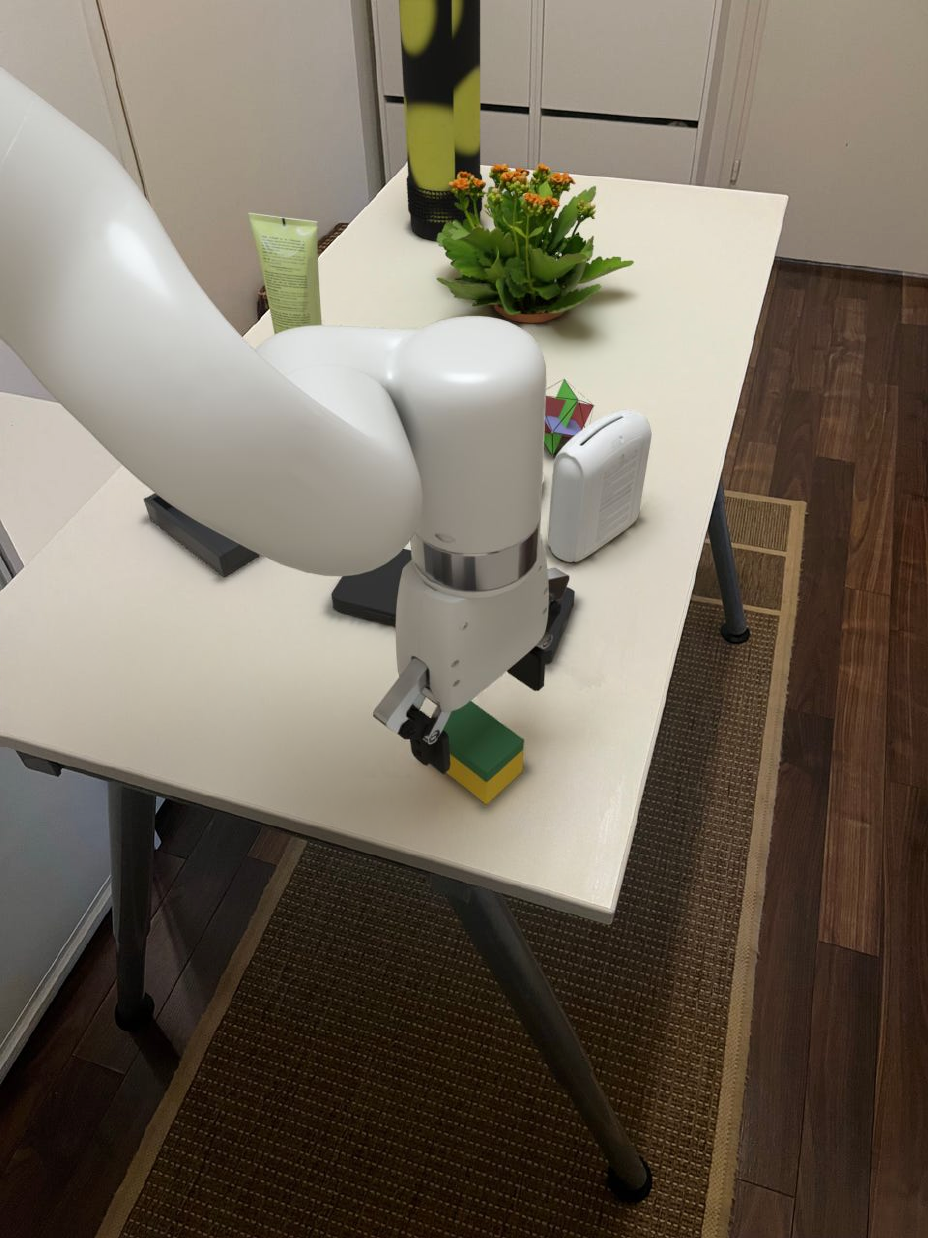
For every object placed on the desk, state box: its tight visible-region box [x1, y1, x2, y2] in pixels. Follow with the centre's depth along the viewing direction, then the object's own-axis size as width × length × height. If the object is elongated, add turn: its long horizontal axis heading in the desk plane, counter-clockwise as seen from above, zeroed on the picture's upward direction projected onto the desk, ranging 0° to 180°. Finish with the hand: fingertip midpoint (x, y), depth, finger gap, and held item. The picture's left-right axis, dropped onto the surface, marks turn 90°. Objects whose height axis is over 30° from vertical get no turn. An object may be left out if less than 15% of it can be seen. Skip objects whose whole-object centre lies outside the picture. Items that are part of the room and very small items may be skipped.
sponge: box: [443, 700, 525, 805], centre depth 68 cm, size 6×4×4 cm, turn 46°
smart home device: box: [330, 548, 576, 665], centre depth 81 cm, size 8×2×20 cm
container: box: [398, 0, 483, 241], centre depth 126 cm, size 11×11×30 cm
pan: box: [143, 492, 261, 578], centre depth 90 cm, size 15×12×2 cm
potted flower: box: [436, 163, 635, 324], centre depth 113 cm, size 25×24×18 cm
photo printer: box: [547, 409, 653, 563], centre depth 83 cm, size 10×4×12 cm, turn 134°
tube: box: [247, 212, 323, 335], centre depth 100 cm, size 6×5×20 cm
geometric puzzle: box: [544, 377, 595, 457], centre depth 96 cm, size 7×7×8 cm
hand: (479, 718), depth 66 cm, fingers open, 9 cm apart
